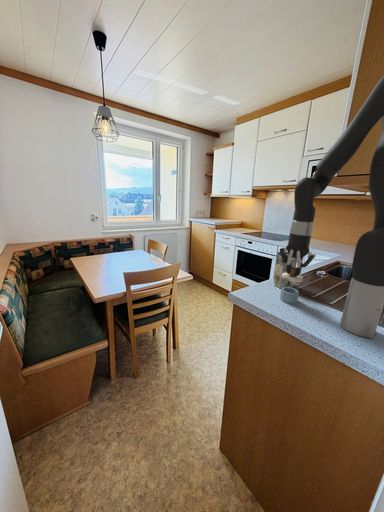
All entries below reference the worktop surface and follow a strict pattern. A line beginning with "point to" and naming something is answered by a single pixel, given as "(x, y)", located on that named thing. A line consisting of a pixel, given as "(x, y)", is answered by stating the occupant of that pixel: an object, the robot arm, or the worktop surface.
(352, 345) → the worktop surface
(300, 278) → the lid
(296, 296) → the bowl
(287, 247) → the robot arm
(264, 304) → the worktop surface
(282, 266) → the coffee box
